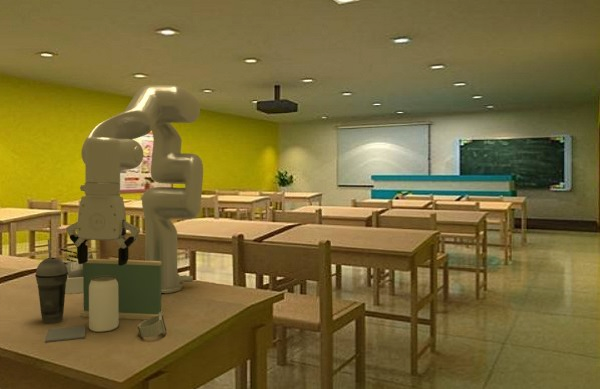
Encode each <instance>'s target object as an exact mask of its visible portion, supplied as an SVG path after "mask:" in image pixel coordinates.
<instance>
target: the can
mask: <svg viewBox="0 0 600 389" xmlns="http://www.w3.org/2000/svg"><path fill="white" fill-rule="evenodd" d="M88 326H89V329H90V331H91V332H95V333H106V332H110V331H111V332H112V331H114V330H116V329H117V328H118V327H119V318H118V282H117V280H116V276H111V275H104V276H96V277H93V278H91V282H90V284H89V317H88Z"/></svg>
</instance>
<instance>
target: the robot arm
mask: <svg viewBox="0 0 600 389" xmlns="http://www.w3.org/2000/svg"><path fill="white" fill-rule="evenodd" d="M200 113H201V107H200V104H199V100H198V98H197V97H196V96H195V95H194V94H193V93H191V92H190V91H189V90H187V89H185V88H184V87H182V86H179V85H175V84H147V85H144V86H142V87H140V88H139V89H138V90H137V91H136V93H135V94H134V95H133V96H132V98H131V101H130V102H128V105H127V107H126V108H125V109H124V111H122V112H119V113H118V114H115V115H114V116H111V117H109V118H107V119H105V120H104V121H102V122H100V123H98V124H97V125H96V126H94V127H93V128H92V130H91V131H90V133H89V134H88V135H87V137H86V138H85V140H84V142H83V144H82V147H81V153H80V154H81V159H82V162H83V163H84V165H85V166H84V167H85V172H84V174H85V178H84V179H85V182H84V184H83V185H82V184H81V185H80V186H79V189H80V191H81V192H84V195H83V196H81V198H80V202H79V207H78V213H77V221H76V222H74V223H72V224H70V225H68V226H66V228H65V229H66V230H65V231H66V232H67V234H68V236H69V239H70V240H71V242H72V243H73V244H74V247H76V252H77V254H76V257H77V258H76V259H77V261H78V264H83V263H86V262H87V261H88V253H89V251H88V250H89V248H88V245H87V242H88V241H116V242H117V244H118V245H119V246H120V248H118V252H117V253H118V254H117V256H118V257H117V258H118V259H117V260H118V265H120V266H122V265H124V264H127V261H128V260H129V247H131V245H132V244H133V243H134V242H135V241H136V240H137V237H138V236H139V234H140V231H141V230H140V228H138V227H137V226H135V225H133V224H131V223H130V222H127V214H126V208H125V201H124V197H123V196H121V170H134V169H135V168H137V167H139V166H140V165H141V164H142V162H143V160H144V150H143V147H142V146H141V144H140V142H138V141H136V140H135V139H138V138H141V137H144V136H146V135H148V134H150V132H151V133H152V137H153V144H152V154H151V163H150V164H151V165H150V175H151V176H150V177H151V178H152V180H153V182H156V183H158V184H165V185H168V184H169V185H185V186H184V187H171V186H170V187H169V186H156V187H155V186H154V187H150V188H148V189H147V190H145V191H144V193H143V195H142V197H141V206H142V211H143V218H144V227H145V228H144V229H145V230H144V232H145V235H144V236H145V238H144V239H145V247H144V248H145V251H144V252H145V258H144V259H145V260H144V261H162V264H161V293H165V294H170V293H171V294H172V293H176V292H179V291H180V290H182V289H183V283H193V282H194V281H193V280H194V279H193V275H184V274H183V275H180V274H179V273H178V231H177V228H176V226H175V225H174V222H172V219H173V220H174V219H175V220H182V219H183V220H191V219H196V218H197V217H198V215H199V214H200V210H201V205H202V195H203V194H202V193H203V192H202V191H203V182H204V181H203V179H204V165H203V161H202V158H201V156H199V155H198V154H195V153H184V152H183V153H181V152H182V137H181V134H179V132H178V131H177V129H176V128H175V127H174V126H173V125H172V124H174V123H176V124H177V123H179V124H180V123H182V124H191V123H192V124H193V123H194V122H196V121H197V120H198V119H199V116H200ZM171 123H172V124H171ZM127 231H129V232H130V234H129V236H128V238H127V237H126V235H127Z"/></svg>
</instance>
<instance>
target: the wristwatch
mask: <svg viewBox="0 0 600 389" xmlns="http://www.w3.org/2000/svg"><path fill="white" fill-rule="evenodd" d="M136 327H137V330H138V334H139V337H141V338H152V337H156V336H159V335H161V334H162V335H163V336H165V335H166V333H167V327H166V323H165V320H164V314H163V315H162V314H161V312H159V314H158V316H155V317H152V318H149V319H147V320H146V319H144V320H143V321H141V322H140V323H139V324H138V325H137V326H136Z"/></svg>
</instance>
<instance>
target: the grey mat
mask: <svg viewBox="0 0 600 389" xmlns="http://www.w3.org/2000/svg"><path fill="white" fill-rule="evenodd" d="M86 328H87V325H78V326H77V325H76V326H67V327H56V328H47V332H46V336H45V339H44V343H52V342H53V343H54V342H63V341H72V340H79V339H80V340H81V339H82V340H83V339H86Z"/></svg>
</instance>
